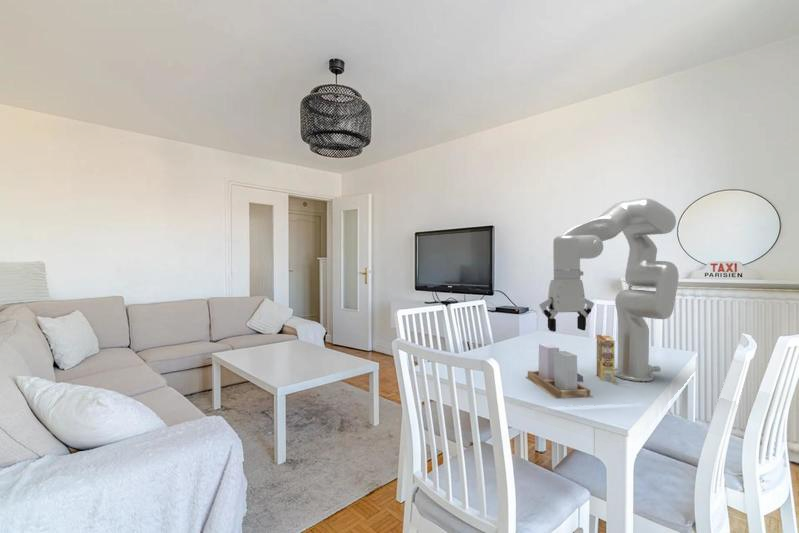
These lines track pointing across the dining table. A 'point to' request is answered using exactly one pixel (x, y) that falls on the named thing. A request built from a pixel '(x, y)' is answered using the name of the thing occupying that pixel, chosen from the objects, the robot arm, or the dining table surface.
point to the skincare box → (565, 370)
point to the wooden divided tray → (550, 388)
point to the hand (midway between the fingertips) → (566, 330)
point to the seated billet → (546, 360)
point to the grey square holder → (579, 378)
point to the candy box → (605, 358)
